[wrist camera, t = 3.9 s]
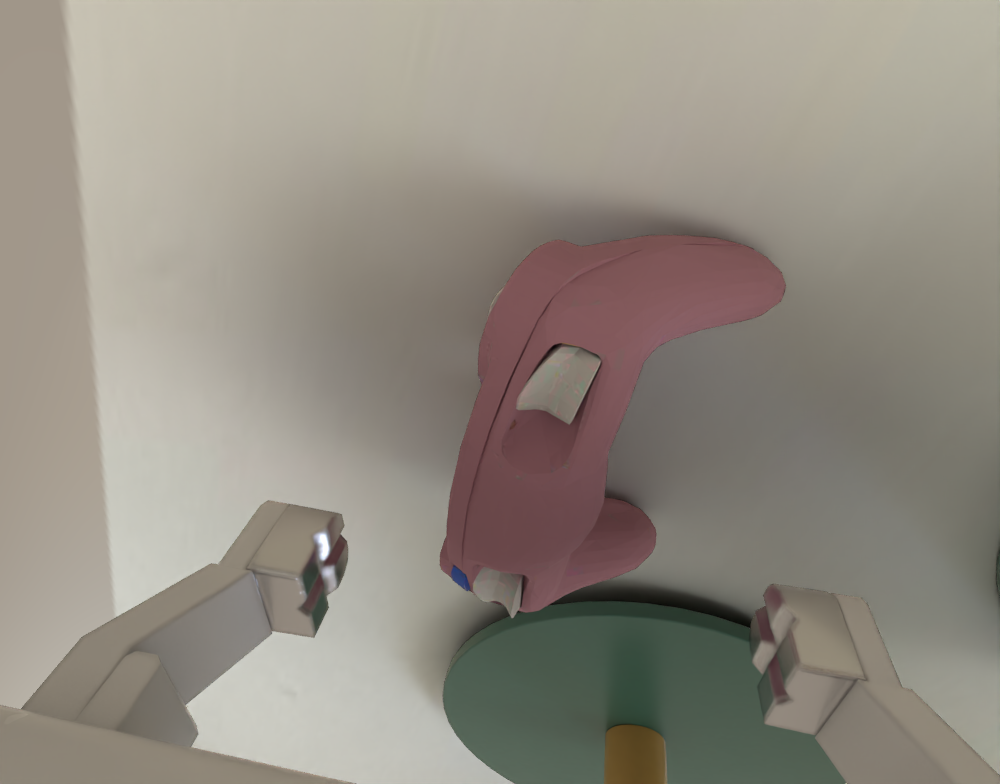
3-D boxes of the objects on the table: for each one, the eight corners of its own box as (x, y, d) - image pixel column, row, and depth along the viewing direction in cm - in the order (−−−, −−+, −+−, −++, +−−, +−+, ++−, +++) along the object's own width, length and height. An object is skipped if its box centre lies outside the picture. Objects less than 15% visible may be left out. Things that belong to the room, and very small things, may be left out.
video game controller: (624, 181, 14) (426, 239, 9) (813, 250, 12) (691, 370, 7) (540, 470, 20) (391, 601, 15) (658, 547, 18) (533, 726, 13)
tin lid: (932, 639, 19) (1020, 826, 15) (771, 828, 28) (795, 975, 24) (450, 549, 21) (404, 690, 16) (448, 753, 30) (419, 877, 26)
